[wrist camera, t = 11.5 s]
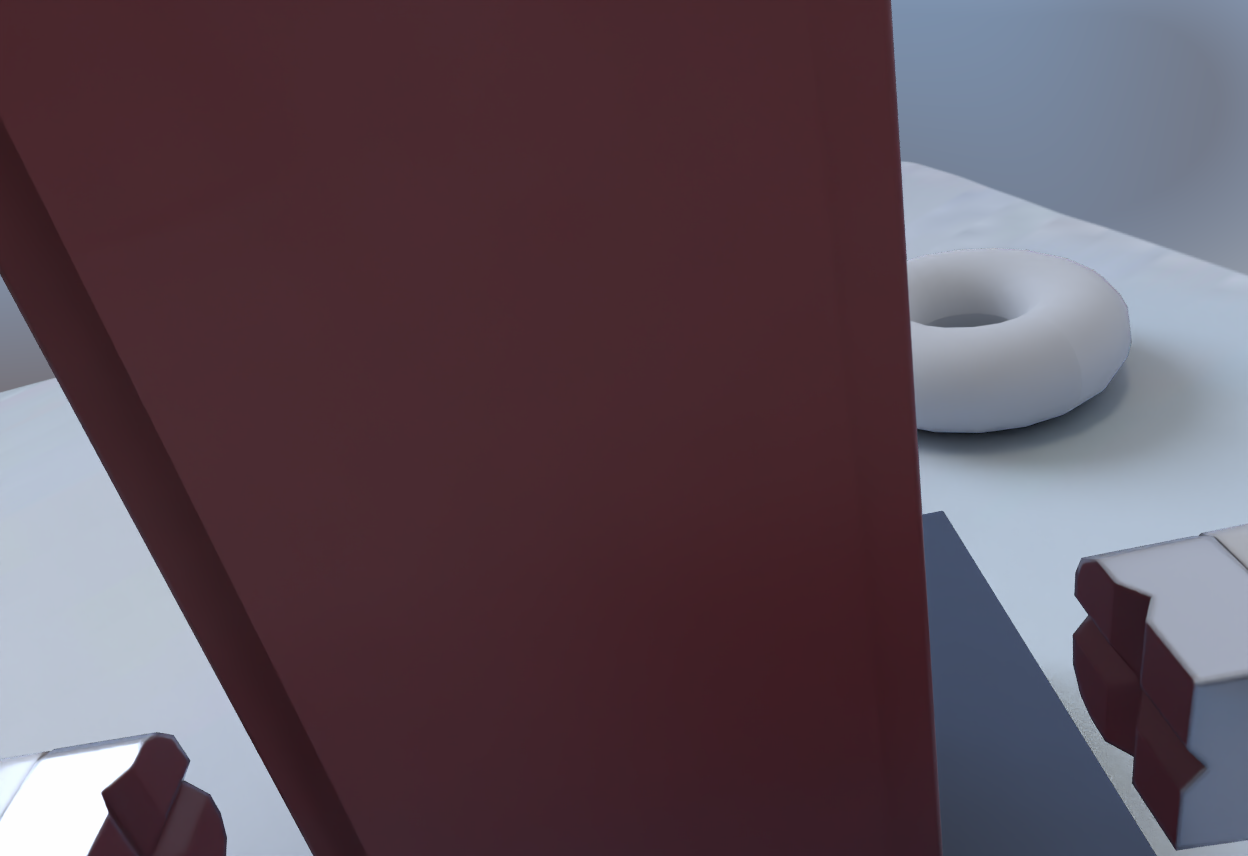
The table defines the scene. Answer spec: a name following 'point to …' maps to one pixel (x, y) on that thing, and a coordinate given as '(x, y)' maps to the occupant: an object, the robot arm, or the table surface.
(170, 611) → the table surface
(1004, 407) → the donut
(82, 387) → the burgundy book
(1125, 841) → the slate book
